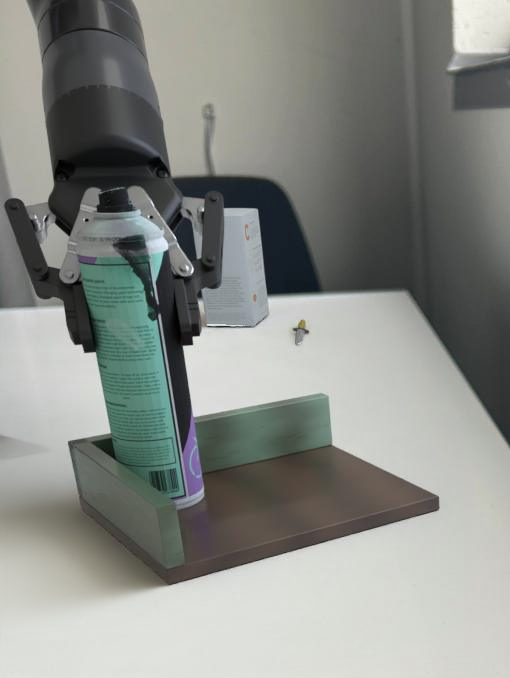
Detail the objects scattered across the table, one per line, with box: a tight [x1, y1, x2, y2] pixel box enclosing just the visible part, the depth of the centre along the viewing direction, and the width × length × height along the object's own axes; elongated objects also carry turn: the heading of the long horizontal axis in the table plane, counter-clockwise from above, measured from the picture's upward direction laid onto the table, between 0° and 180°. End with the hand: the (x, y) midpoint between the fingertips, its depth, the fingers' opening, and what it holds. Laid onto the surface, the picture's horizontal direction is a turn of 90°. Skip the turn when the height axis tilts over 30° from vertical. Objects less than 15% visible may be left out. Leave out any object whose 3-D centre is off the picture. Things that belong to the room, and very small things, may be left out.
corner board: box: [67, 392, 440, 585], centre depth 71 cm, size 20×16×5 cm
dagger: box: [292, 319, 310, 345], centre depth 122 cm, size 11×1×2 cm
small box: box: [191, 207, 270, 327], centre depth 128 cm, size 8×6×13 cm
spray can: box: [75, 187, 204, 510], centre depth 67 cm, size 6×6×20 cm
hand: (138, 341), depth 65 cm, fingers closed on spray can, 5 cm apart
